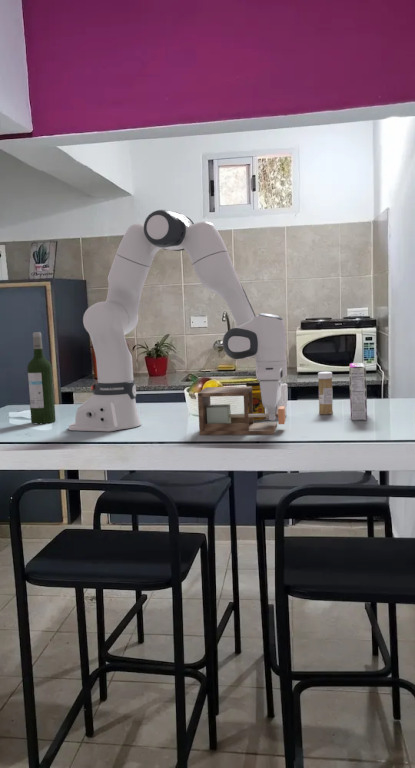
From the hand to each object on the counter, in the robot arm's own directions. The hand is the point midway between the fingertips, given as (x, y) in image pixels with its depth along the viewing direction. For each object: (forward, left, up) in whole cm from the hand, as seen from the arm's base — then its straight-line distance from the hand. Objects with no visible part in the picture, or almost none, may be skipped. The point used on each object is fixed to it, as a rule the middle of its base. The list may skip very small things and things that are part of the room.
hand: (273, 418), depth 201 cm
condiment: (-7, +19, -4) cm, 21 cm away
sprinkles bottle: (+15, +27, -4) cm, 31 cm away
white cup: (-1, +26, -4) cm, 26 cm away
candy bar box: (+25, +19, -4) cm, 31 cm away
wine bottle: (-78, +18, -4) cm, 81 cm away
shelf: (-10, 0, -3) cm, 11 cm away
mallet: (-8, 0, -2) cm, 8 cm away
